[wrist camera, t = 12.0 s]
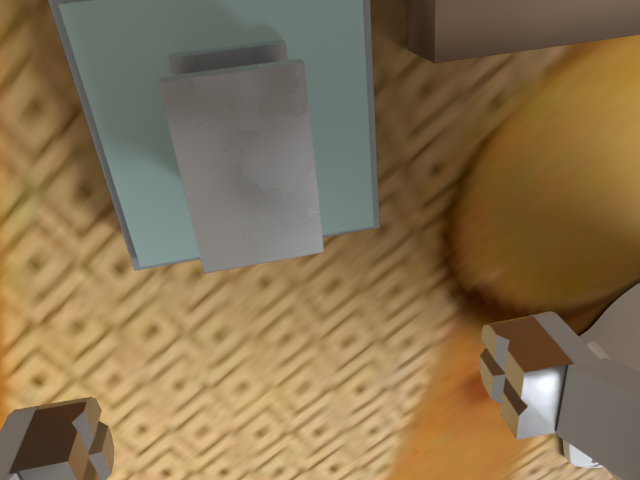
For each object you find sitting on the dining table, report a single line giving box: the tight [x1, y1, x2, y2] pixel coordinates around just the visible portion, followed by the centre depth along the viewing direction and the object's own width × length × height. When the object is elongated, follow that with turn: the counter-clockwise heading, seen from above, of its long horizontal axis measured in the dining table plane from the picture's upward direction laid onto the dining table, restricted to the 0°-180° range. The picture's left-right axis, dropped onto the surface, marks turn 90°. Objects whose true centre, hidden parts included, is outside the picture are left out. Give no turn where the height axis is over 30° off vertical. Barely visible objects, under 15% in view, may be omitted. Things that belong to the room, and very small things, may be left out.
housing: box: [158, 40, 324, 274], centre depth 23 cm, size 8×5×6 cm, turn 5°
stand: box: [48, 0, 380, 271], centre depth 28 cm, size 14×14×4 cm
